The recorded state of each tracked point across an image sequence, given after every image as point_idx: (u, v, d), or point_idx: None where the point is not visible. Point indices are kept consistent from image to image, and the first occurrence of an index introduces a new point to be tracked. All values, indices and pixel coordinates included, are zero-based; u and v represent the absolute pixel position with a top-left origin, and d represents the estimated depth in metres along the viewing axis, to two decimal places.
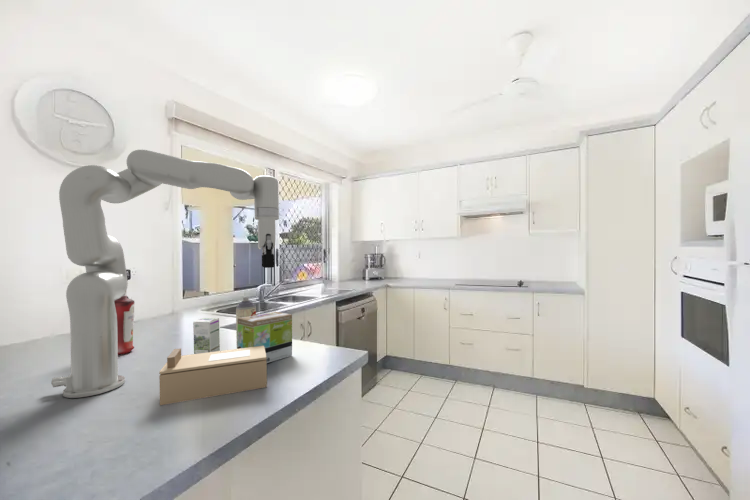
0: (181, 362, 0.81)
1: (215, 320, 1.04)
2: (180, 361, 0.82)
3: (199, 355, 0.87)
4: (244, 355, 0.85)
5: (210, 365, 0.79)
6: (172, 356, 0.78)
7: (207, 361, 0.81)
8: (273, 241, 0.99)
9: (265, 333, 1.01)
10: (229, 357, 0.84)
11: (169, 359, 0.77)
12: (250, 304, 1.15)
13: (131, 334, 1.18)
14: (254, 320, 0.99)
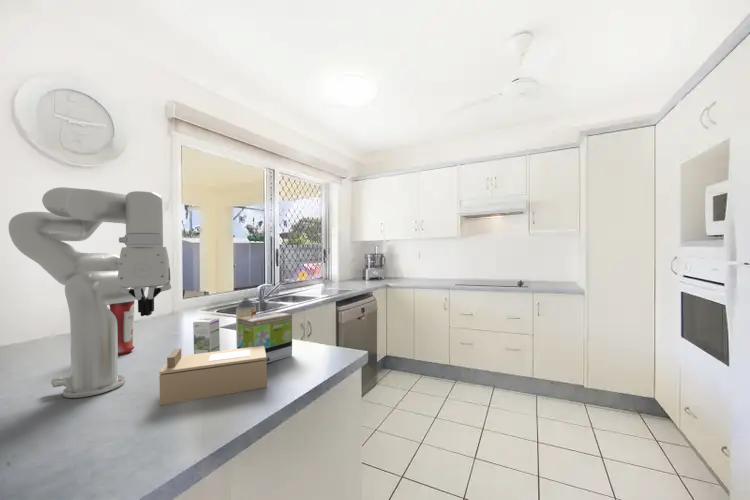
0: (181, 362, 0.81)
1: (215, 320, 1.04)
2: (180, 361, 0.82)
3: (199, 355, 0.87)
4: (244, 355, 0.85)
5: (210, 365, 0.79)
6: (172, 356, 0.78)
7: (207, 361, 0.81)
8: None
9: (265, 333, 1.01)
10: (229, 357, 0.84)
11: (169, 359, 0.77)
12: (250, 304, 1.15)
13: (131, 334, 1.18)
14: (254, 320, 0.99)
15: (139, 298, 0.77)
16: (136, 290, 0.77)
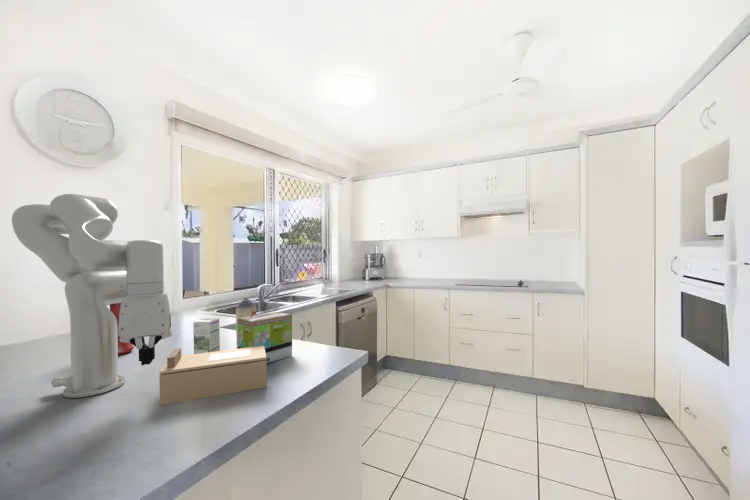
0: (181, 362, 0.81)
1: (215, 320, 1.04)
2: (180, 361, 0.82)
3: (199, 355, 0.87)
4: (244, 355, 0.85)
5: (210, 365, 0.79)
6: (172, 356, 0.78)
7: (207, 361, 0.81)
8: None
9: (265, 333, 1.01)
10: (229, 357, 0.84)
11: (169, 359, 0.77)
12: (250, 304, 1.15)
13: None
14: (254, 320, 1.00)
15: (140, 347, 0.77)
16: (137, 339, 0.77)
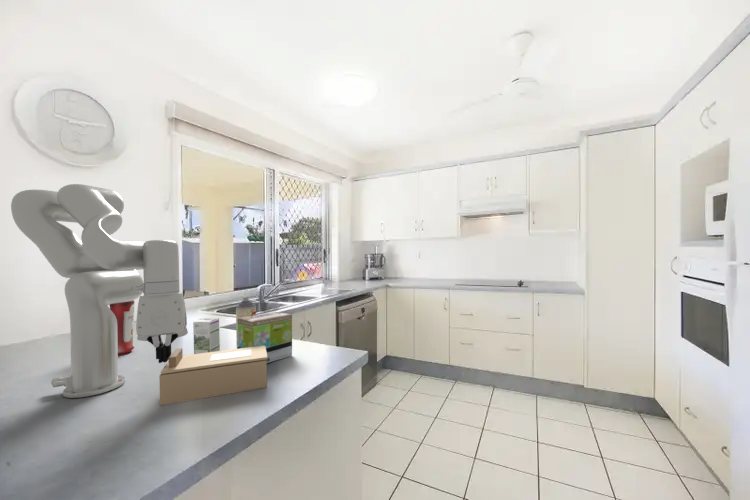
0: (183, 362, 0.81)
1: (215, 320, 1.04)
2: (181, 361, 0.82)
3: (200, 355, 0.87)
4: (246, 355, 0.85)
5: (211, 365, 0.79)
6: (173, 356, 0.78)
7: (208, 361, 0.81)
8: None
9: (265, 333, 1.01)
10: (230, 357, 0.84)
11: (170, 359, 0.77)
12: (250, 304, 1.15)
13: (131, 334, 1.18)
14: (254, 320, 1.00)
15: (157, 345, 0.79)
16: (154, 337, 0.78)
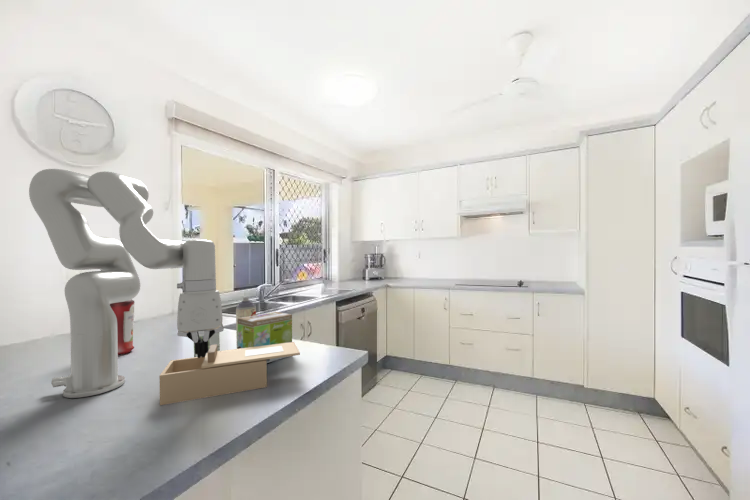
0: (219, 357, 0.84)
1: None
2: (218, 356, 0.85)
3: (234, 351, 0.90)
4: (278, 351, 0.88)
5: (248, 360, 0.82)
6: (212, 351, 0.81)
7: (244, 356, 0.85)
8: None
9: (265, 333, 1.01)
10: (264, 352, 0.87)
11: (209, 354, 0.81)
12: (250, 304, 1.15)
13: (131, 334, 1.18)
14: (254, 320, 1.00)
15: (196, 341, 0.82)
16: (193, 333, 0.82)
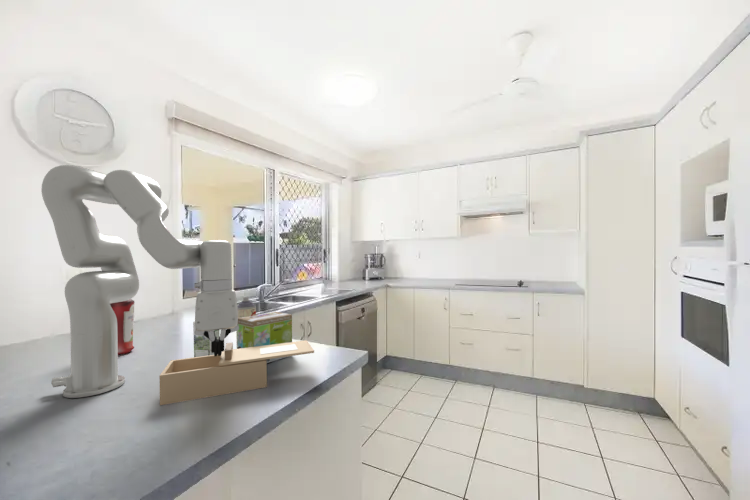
0: (235, 355, 0.86)
1: None
2: (233, 354, 0.87)
3: (249, 349, 0.91)
4: (293, 349, 0.90)
5: (264, 358, 0.84)
6: (228, 349, 0.83)
7: (259, 354, 0.86)
8: None
9: (265, 333, 1.01)
10: (279, 350, 0.89)
11: (226, 352, 0.82)
12: (250, 304, 1.15)
13: (131, 334, 1.18)
14: (254, 320, 1.00)
15: (212, 339, 0.83)
16: (210, 332, 0.83)
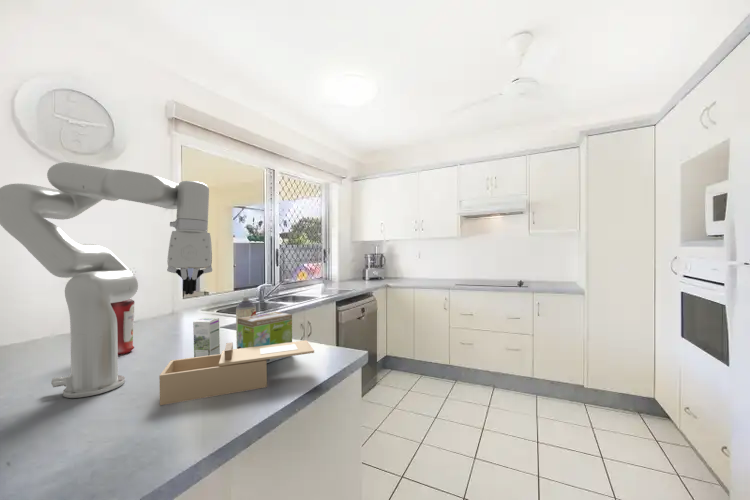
0: (235, 355, 0.86)
1: (215, 320, 1.04)
2: (233, 354, 0.87)
3: (249, 349, 0.91)
4: (293, 349, 0.90)
5: (264, 358, 0.84)
6: (228, 349, 0.83)
7: (259, 354, 0.86)
8: None
9: (265, 333, 1.01)
10: (279, 350, 0.89)
11: (226, 352, 0.82)
12: (250, 304, 1.15)
13: (131, 334, 1.18)
14: (254, 320, 0.99)
15: (184, 278, 0.85)
16: (182, 270, 0.85)
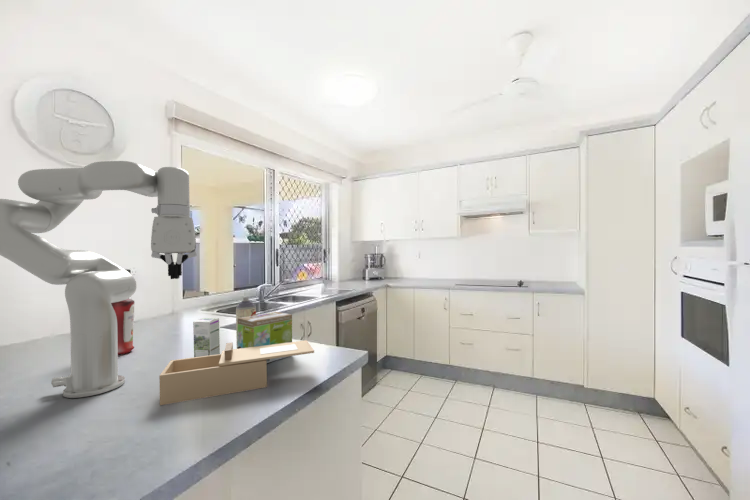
0: (235, 355, 0.86)
1: (215, 320, 1.04)
2: (233, 354, 0.87)
3: (249, 349, 0.91)
4: (293, 349, 0.90)
5: (264, 358, 0.84)
6: (228, 349, 0.83)
7: (259, 354, 0.86)
8: None
9: (265, 333, 1.01)
10: (279, 350, 0.89)
11: (226, 352, 0.82)
12: (250, 304, 1.15)
13: (131, 334, 1.18)
14: (254, 320, 0.99)
15: (169, 263, 0.86)
16: (166, 255, 0.86)
